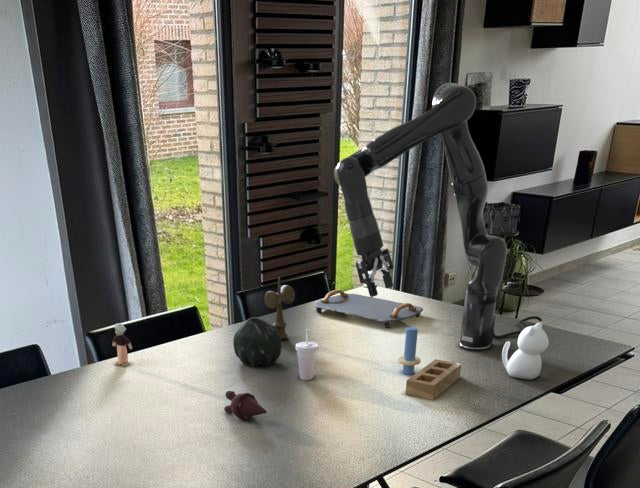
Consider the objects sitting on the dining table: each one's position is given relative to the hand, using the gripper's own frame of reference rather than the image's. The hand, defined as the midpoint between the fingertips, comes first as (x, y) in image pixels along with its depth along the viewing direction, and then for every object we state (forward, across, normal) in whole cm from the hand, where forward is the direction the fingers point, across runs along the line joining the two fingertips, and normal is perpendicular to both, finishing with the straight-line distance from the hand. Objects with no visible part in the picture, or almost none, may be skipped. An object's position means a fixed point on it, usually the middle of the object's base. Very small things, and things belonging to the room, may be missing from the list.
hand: (382, 291), depth 207 cm
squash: (+8, -20, +36) cm, 42 cm away
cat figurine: (+34, +13, -28) cm, 46 cm away
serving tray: (+13, +44, +38) cm, 59 cm away
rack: (+27, -8, -13) cm, 31 cm away
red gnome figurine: (+14, -56, +12) cm, 59 cm away
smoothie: (+15, -23, +17) cm, 32 cm away
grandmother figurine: (-5, -45, +66) cm, 80 cm away
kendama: (+7, +3, +45) cm, 46 cm away
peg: (+24, -3, -3) cm, 24 cm away
